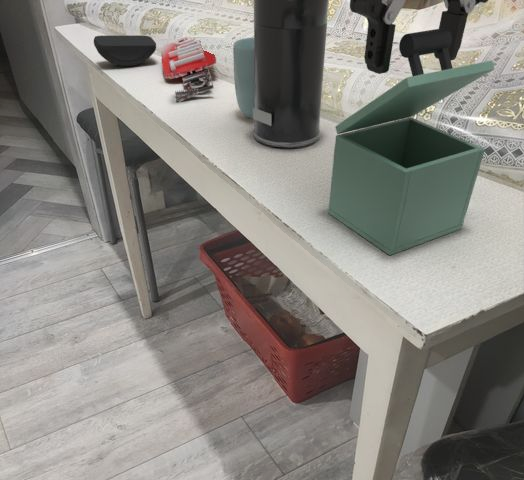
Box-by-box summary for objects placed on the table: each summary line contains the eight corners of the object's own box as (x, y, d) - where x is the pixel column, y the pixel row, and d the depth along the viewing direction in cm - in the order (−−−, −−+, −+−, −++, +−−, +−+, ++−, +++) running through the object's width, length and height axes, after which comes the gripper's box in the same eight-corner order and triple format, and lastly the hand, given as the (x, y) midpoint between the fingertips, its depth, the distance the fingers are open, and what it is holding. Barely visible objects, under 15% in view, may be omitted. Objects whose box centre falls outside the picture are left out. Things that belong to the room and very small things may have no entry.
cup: (254, 105, 85) (253, 34, 78) (295, 113, 81) (297, 41, 75) (226, 118, 80) (222, 44, 73) (268, 127, 77) (268, 51, 70)
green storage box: (461, 228, 55) (485, 148, 49) (389, 255, 51) (406, 172, 46) (396, 191, 62) (410, 117, 56) (328, 213, 58) (335, 135, 52)
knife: (184, 54, 100) (209, 51, 99) (186, 67, 101) (211, 63, 101) (178, 84, 88) (207, 80, 88) (181, 97, 89) (209, 94, 89)
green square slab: (494, 69, 46) (481, 13, 45) (409, 87, 42) (393, 26, 41) (412, 116, 56) (400, 70, 55) (337, 134, 52) (323, 85, 51)
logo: (222, 77, 84) (164, 95, 84) (225, 88, 85) (168, 106, 86) (207, 27, 100) (158, 43, 101) (209, 37, 102) (161, 53, 102)
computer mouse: (97, 45, 96) (100, 69, 99) (157, 45, 99) (158, 68, 102) (91, 35, 100) (94, 58, 102) (149, 35, 103) (150, 57, 106)
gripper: (421, -205, 31) (379, 88, 42) (569, -193, 36) (497, 64, 48) (344, -195, 36) (324, 66, 47) (485, -185, 41) (438, 46, 52)
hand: (411, 65), depth 47 cm, fingers open, 8 cm apart
